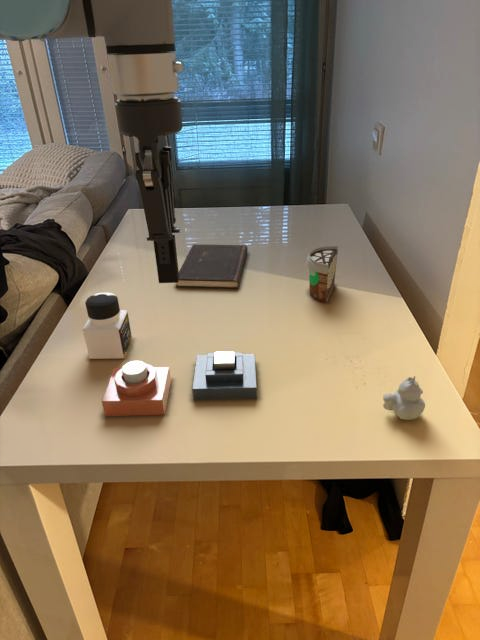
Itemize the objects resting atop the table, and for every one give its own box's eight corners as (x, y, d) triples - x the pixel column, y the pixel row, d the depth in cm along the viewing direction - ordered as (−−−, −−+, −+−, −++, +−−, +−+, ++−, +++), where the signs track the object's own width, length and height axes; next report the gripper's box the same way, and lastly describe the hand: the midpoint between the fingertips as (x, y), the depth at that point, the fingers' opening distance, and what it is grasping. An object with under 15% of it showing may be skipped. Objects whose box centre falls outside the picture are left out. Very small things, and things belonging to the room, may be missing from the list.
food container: (311, 279, 119) (313, 242, 114) (335, 282, 117) (338, 245, 112) (299, 301, 109) (300, 262, 104) (325, 305, 107) (327, 265, 102)
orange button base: (104, 416, 78) (99, 392, 75) (116, 382, 85) (112, 360, 83) (164, 414, 78) (161, 391, 75) (171, 380, 85) (168, 358, 83)
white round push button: (121, 384, 78) (119, 374, 76) (126, 370, 81) (124, 360, 80) (145, 384, 77) (143, 374, 76) (149, 369, 81) (147, 359, 80)
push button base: (193, 399, 81) (191, 381, 79) (197, 365, 89) (196, 348, 87) (256, 398, 80) (256, 380, 78) (254, 363, 89) (254, 346, 87)
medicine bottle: (125, 359, 92) (114, 306, 85) (89, 359, 92) (76, 306, 86) (132, 339, 98) (123, 288, 92) (99, 339, 98) (87, 288, 92)
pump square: (214, 371, 81) (213, 363, 81) (215, 359, 85) (214, 351, 84) (234, 371, 81) (234, 363, 81) (234, 359, 85) (234, 351, 84)
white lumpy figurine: (426, 427, 73) (435, 387, 69) (383, 424, 74) (390, 385, 70) (418, 404, 78) (427, 365, 74) (378, 402, 79) (384, 364, 75)
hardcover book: (175, 287, 118) (174, 279, 116) (193, 251, 137) (193, 244, 136) (238, 289, 116) (238, 280, 115) (247, 252, 135) (247, 245, 134)
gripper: (173, 102, 48) (191, 302, 60) (185, 90, 59) (199, 261, 71) (100, 104, 48) (133, 303, 60) (126, 92, 59) (150, 262, 71)
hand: (169, 280), depth 66 cm, fingers closed
